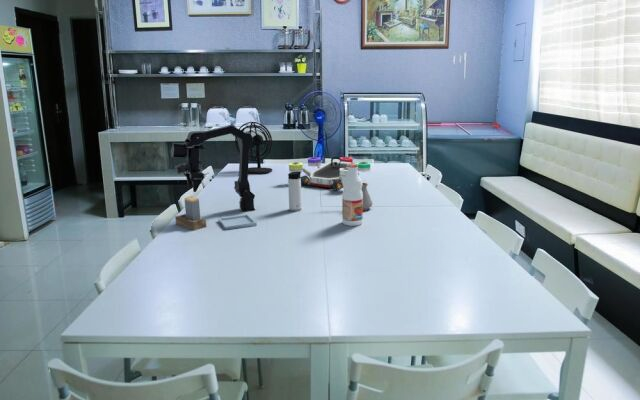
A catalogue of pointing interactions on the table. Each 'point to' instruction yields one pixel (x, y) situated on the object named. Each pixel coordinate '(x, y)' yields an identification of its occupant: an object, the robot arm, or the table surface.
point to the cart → (327, 171)
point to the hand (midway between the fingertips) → (192, 190)
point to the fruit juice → (352, 197)
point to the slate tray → (237, 222)
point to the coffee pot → (366, 197)
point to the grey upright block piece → (192, 208)
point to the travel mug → (294, 191)
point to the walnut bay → (190, 222)
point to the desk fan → (257, 147)
